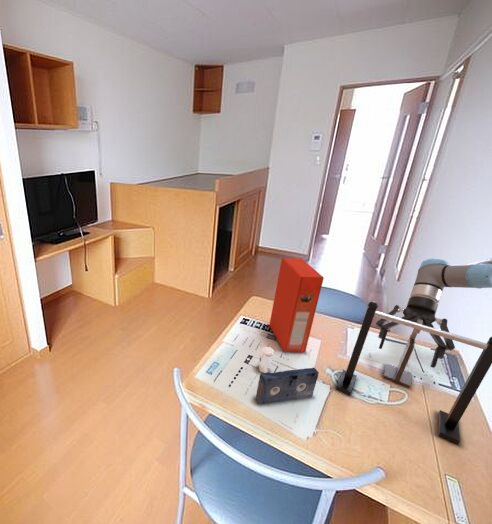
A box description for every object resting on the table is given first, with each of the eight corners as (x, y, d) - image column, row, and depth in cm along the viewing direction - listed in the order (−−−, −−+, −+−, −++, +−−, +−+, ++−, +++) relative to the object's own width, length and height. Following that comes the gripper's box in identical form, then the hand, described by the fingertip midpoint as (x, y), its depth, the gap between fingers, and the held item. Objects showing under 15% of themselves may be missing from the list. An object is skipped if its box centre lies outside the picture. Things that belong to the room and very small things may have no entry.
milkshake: (259, 362, 111) (263, 339, 107) (272, 370, 107) (278, 347, 103) (252, 368, 108) (256, 345, 104) (266, 376, 105) (271, 353, 101)
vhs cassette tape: (307, 391, 99) (314, 366, 95) (313, 398, 96) (320, 373, 92) (254, 397, 96) (259, 372, 92) (258, 404, 94) (264, 379, 90)
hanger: (410, 375, 106) (434, 321, 97) (409, 388, 100) (434, 332, 92) (385, 365, 110) (406, 313, 101) (383, 377, 104) (405, 323, 96)
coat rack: (456, 421, 88) (507, 331, 76) (458, 445, 82) (514, 350, 69) (342, 373, 106) (368, 293, 94) (335, 389, 99) (363, 306, 87)
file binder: (283, 351, 117) (300, 276, 104) (268, 326, 132) (281, 258, 120) (305, 352, 116) (324, 277, 104) (287, 326, 132) (302, 258, 120)
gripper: (470, 317, 100) (453, 377, 96) (378, 292, 115) (360, 343, 111) (479, 309, 94) (461, 373, 90) (380, 285, 110) (361, 338, 105)
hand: (405, 356), depth 100 cm, fingers open, 13 cm apart
